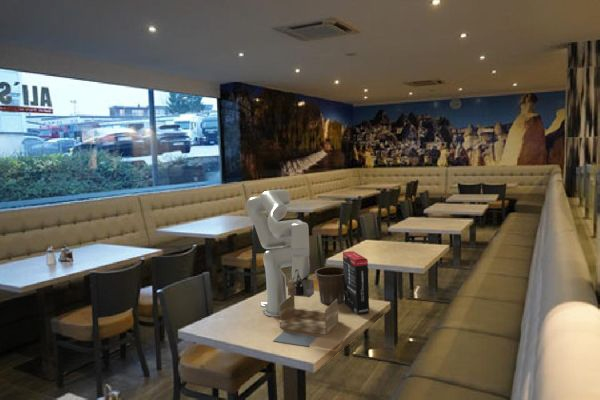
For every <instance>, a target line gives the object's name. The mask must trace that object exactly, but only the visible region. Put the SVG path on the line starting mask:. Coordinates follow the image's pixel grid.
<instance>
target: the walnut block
mask: <svg viewBox="0 0 600 400" xmlns="http://www.w3.org/2000/svg"><path fill="white" fill-rule="evenodd" d="M298 281H301V280H298ZM314 282H315V281H314V279H308V280H305V279H303V283H302V286H303V292H304V295H296V286H295V282H294V279H292V278H291V279H289V280H288V281H287V295H288V296H289V297H290V296H294V297H303V298H304V297H305V298H311V297H312V296H313V295H314V294H315V288H314V287H315V285H314Z"/></svg>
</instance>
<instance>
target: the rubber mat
mask: <svg viewBox="0 0 600 400" xmlns="http://www.w3.org/2000/svg"><path fill="white" fill-rule="evenodd" d="M317 338H318V335H311V334H304V333H297V332H290V331H281V333H280V334H279V335H278V336H276V337H275V338H274V339H273V340H272V342H273V343H274V342H275V343H281V344H285V345H287V344H288V345H293V346H299V347H304V348H310V346H311V344H312V343H313V342H314V341H315V340H316V339H317Z"/></svg>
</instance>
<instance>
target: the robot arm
mask: <svg viewBox="0 0 600 400" xmlns="http://www.w3.org/2000/svg"><path fill="white" fill-rule="evenodd" d="M290 195H291V194H290V193H289V192H288V191H287V190H286V189H284V188H283V189H269V190H266V191H263V192H262V193H261V194H260V195H258V196H257V195H256V196H253V197H252V196H251V197H249V199H247V200H246V204H245V208H246V213H247V216H248V217H249V220H250V221H251V223H252V224H253V227H254V228H255V231H256V234H257V237H258V240H259V242H260V245H261V246H262V248H263V249H265V250H266V251H264V253H263V256H262V260H263V264H264V271H265V282H266V283H265V284H266V302H265V301H261V303H260V308H264V315H266V316H268V317H274V318H275V317H279V318H280V311H279V305H280V304H281V303H282V302H284V301H285V300H286V299H288V297H287V295H288V293H287V277H286V275H285V273H284V272H283V271H282V268H287V267H291V279H294V282H295V286H296V295H304V292H303V286H302V283H303V279H305V280H309V275H310V270H311V268H310V266H311V265H310V254H311V253H310V235H309V234H310V232H309V225H308V223H307V222H305V221H302V220H300V219H290V220H288V219H287V220H282V219H283V218H284V217H286V215H287V212H288V206H289V205H290V203H291V196H290ZM264 213H268V216H266V215H265V214H264ZM298 280H301V281H298Z"/></svg>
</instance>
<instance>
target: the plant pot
mask: <svg viewBox="0 0 600 400" xmlns="http://www.w3.org/2000/svg"><path fill="white" fill-rule="evenodd" d="M314 274H316V281H317V284H318V291H319V300H320V303H321V304H323V305H327V306H330V305H331V304H332V303H333V302H334V301H335V300H336V299H338V305H340V304H342V303H345V299H344V273H343V267H338V266H326V267H321V268H318V269H316V270H315V271H314Z"/></svg>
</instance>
